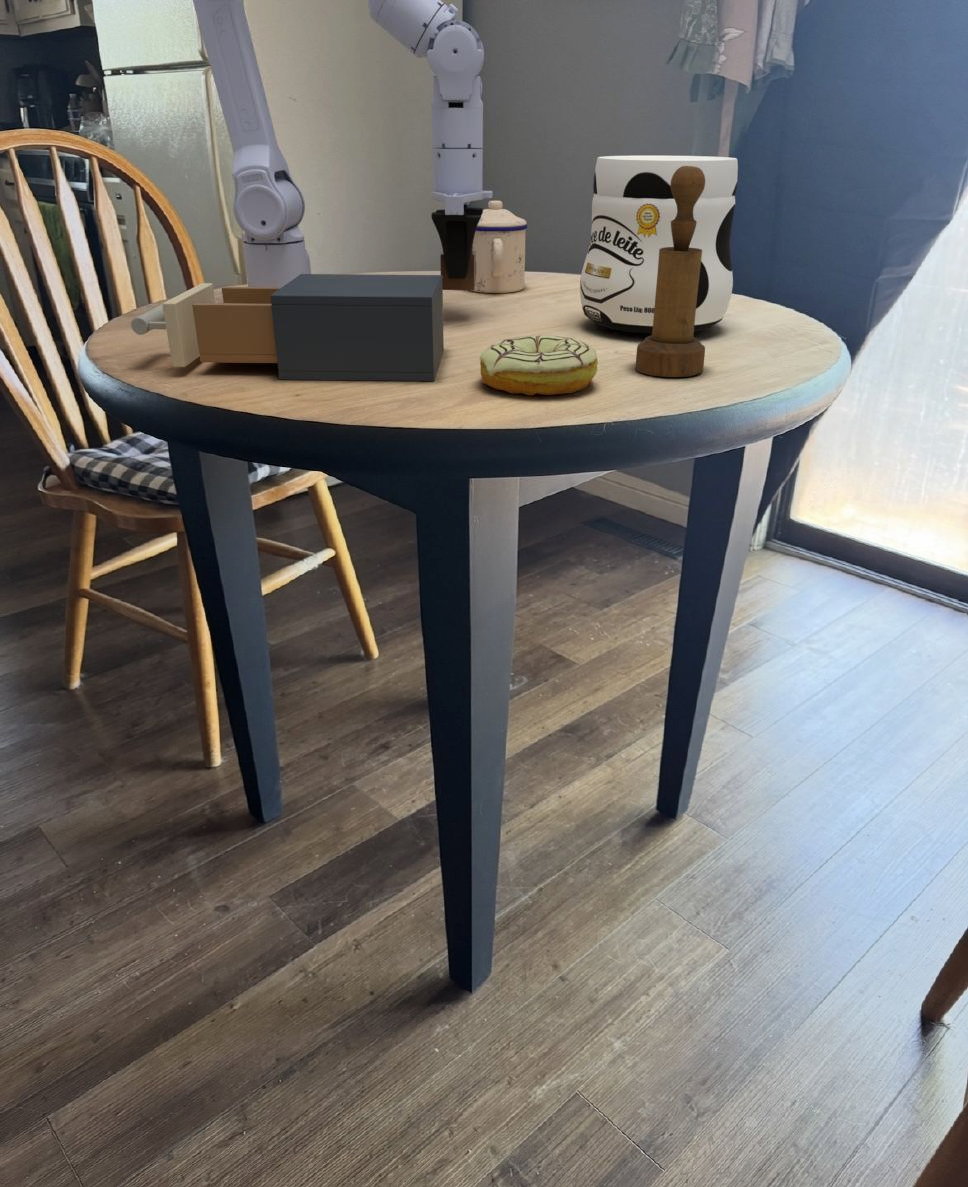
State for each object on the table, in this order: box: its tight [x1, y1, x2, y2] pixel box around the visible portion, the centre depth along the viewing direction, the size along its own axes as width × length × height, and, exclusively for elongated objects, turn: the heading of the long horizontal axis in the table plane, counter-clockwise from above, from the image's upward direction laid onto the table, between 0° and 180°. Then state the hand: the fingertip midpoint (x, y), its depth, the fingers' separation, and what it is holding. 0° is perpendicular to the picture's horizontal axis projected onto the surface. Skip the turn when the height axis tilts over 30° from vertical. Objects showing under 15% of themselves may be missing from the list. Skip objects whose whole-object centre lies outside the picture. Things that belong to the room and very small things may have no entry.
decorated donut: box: [479, 335, 599, 396], centre depth 80 cm, size 10×11×4 cm
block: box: [439, 250, 476, 291], centre depth 105 cm, size 4×4×4 cm
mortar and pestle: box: [635, 166, 706, 378], centre depth 82 cm, size 7×6×18 cm
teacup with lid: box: [469, 200, 528, 294], centre depth 123 cm, size 12×9×12 cm
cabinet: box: [270, 273, 445, 382], centre depth 86 cm, size 15×13×8 cm
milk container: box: [579, 154, 739, 335], centre depth 99 cm, size 17×17×18 cm
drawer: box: [130, 282, 282, 368], centre depth 86 cm, size 18×11×6 cm, turn 88°
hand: (458, 275), depth 105 cm, fingers closed on block, 4 cm apart
